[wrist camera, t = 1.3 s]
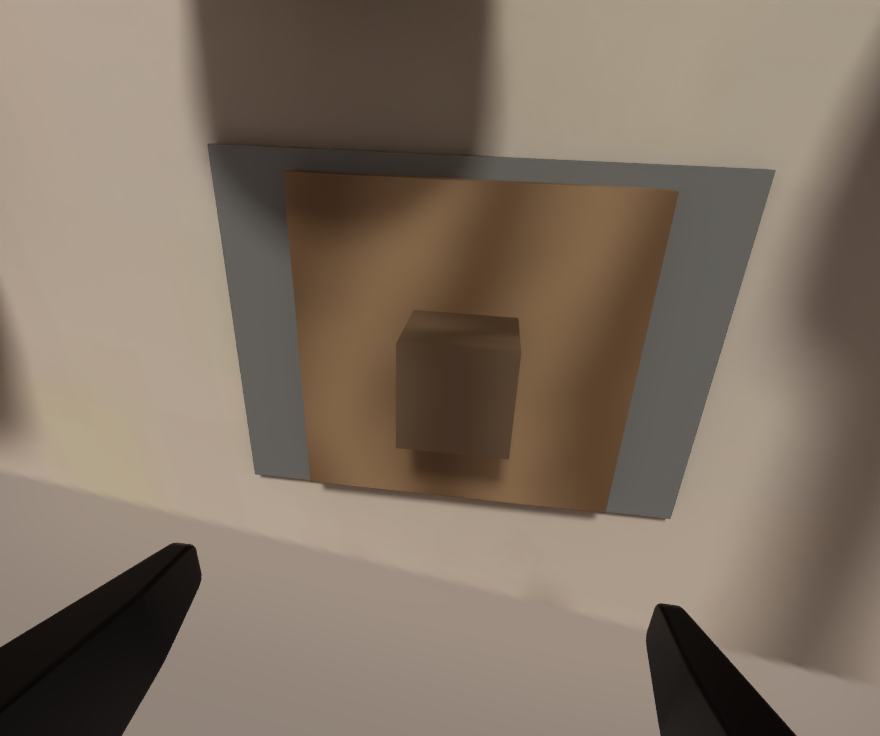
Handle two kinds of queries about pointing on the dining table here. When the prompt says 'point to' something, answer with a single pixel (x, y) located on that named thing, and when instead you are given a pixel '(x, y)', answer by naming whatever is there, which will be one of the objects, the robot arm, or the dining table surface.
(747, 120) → the dining table surface
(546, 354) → the lid
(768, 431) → the dining table surface
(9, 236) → the dining table surface
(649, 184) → the mat
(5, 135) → the dining table surface
